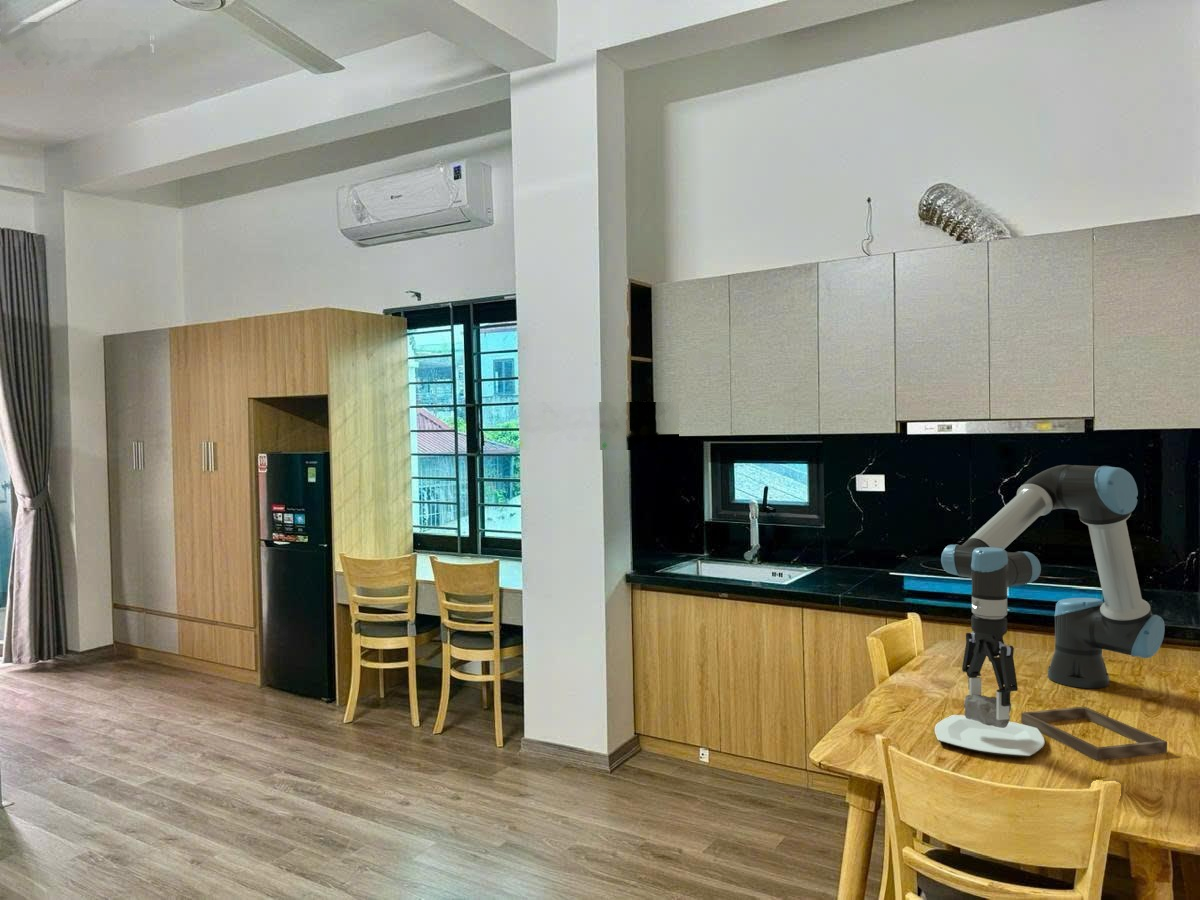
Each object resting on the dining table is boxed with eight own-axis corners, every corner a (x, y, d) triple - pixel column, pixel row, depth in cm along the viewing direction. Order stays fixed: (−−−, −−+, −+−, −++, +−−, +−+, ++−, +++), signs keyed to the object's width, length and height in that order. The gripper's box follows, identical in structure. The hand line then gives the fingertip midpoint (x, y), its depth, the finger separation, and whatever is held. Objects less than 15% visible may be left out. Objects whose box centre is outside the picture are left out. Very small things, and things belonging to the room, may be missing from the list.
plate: (1040, 769, 184) (1040, 760, 184) (925, 749, 196) (926, 740, 196) (1048, 734, 203) (1048, 726, 203) (944, 718, 215) (944, 710, 215)
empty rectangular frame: (1084, 716, 214) (1084, 706, 214) (1166, 753, 191) (1167, 741, 191) (1021, 722, 211) (1021, 712, 210) (1097, 760, 187) (1097, 749, 187)
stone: (1009, 731, 194) (1009, 705, 194) (962, 725, 199) (961, 700, 199) (1012, 720, 201) (1011, 695, 201) (966, 714, 206) (966, 690, 206)
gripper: (946, 606, 208) (945, 698, 209) (1006, 627, 187) (1006, 729, 188) (973, 604, 210) (973, 695, 211) (1036, 625, 189) (1036, 726, 189)
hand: (988, 711), depth 199 cm, fingers closed on stone, 9 cm apart
